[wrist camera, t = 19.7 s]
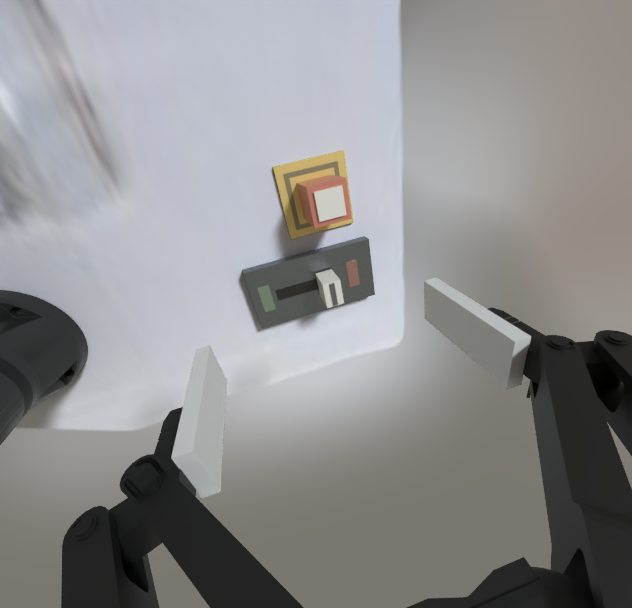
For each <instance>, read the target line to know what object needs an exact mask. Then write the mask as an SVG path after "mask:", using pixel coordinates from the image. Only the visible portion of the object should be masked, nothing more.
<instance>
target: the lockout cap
mask: <svg viewBox="0 0 632 608" xmlns="http://www.w3.org/2000/svg"><path fill="white" fill-rule="evenodd" d="M297 187H298V191H299V196H300V200H301V205H302V210H303V214H304V219H305V220H306V221H307V222H308V223H309V224H310V225H312V226H313V227H314V228H319V227H323V226H326V225H330V224H334V223H338V222H341V221H345V220H349V219H352V217H351V209H350V202H349V195H348V187H347V180H346V177H342V176H337V175H327V176H322V177H318V178H314V179H310V180H306V181H302V182H298V183H297Z"/></svg>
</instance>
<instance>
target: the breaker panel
mask: <svg viewBox="0 0 632 608" xmlns="http://www.w3.org/2000/svg"><path fill="white" fill-rule="evenodd" d="M330 269H332V270H333V271H334V273H335V274H336V275H337V276H338V278H339V279H340V282H341V288H342V293H343V299H344V303H343V304H345V303H348V302H352V301H355V300H358V299H362V298H365V297H368V296H372V295H375V292H374V283H373V274H372V265H371V256H370V247H369V239H368V238H366V237H365V236H364V237H360V238H357V239H353V240H350V241H346V242H342V243H339V244H335V245H331V246H328V247H324V248H320V249H317V250H313V251H310V252H306V253H302V254H299V255H295V256H291V257H288V258H284V259H280V260H277V261H273V262H269V263H266V264H262V265H259V266H255V267H251V268H248V269H244V270H243V276H244V279H245V282H246V284H247V287H248V290H249V293H250V296H251V298H252V301H253V304H254V307H255V310H256V312H257V315H258V318H259V321H260V324H261V326H262V328H265V327H268V326H271V325H275V324H278V323H281V322H285V321H288V320H291V319H295V318H298V317H301V316H305V315H308V314H311V313H315V312H318V311H322V310H325V309H328V308H327V307H326V305H325V303H324V302H323V300H322V298H321V296H320V293H319V288H318V283H317V279H316V273H320V272H323V271H327V270H330ZM340 305H342V304H340ZM337 306H338V305H337ZM333 307H335V306H333ZM330 308H332V307H330Z"/></svg>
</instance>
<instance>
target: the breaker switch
mask: <svg viewBox="0 0 632 608" xmlns="http://www.w3.org/2000/svg"><path fill="white" fill-rule="evenodd" d="M316 279H317V283H318V288H319V293H320V296H321V298H322V300H323V302H324V303H325V305H326V307H327V308H330V307H333V306H337V305H340V304H343V303H344V299H343V293H342V288H341V282H340V279H339V278H338V276H337V275H336V274H335V273H334V271H333V270H332V269H330V270H327V271H323V272H320V273H316Z"/></svg>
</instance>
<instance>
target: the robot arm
mask: <svg viewBox="0 0 632 608" xmlns="http://www.w3.org/2000/svg"><path fill="white" fill-rule="evenodd" d="M424 295H425V296H424V299H425V319H426V320H427V321H428V322H429V323H431V324H432V325H433V326H434V327H435V328H436V329H437V330H439V331H440V332H441V333H442V334H443V335H444V336H446V337H447V338H448V339H449V340H450V341H451V342H452V343H453V344H455V345H456V346H457V347H458V348H459V349H461V350H462V351H463V352H464V353H465V354H466V355H467V356H469V357H470V358H471V359H472V360H473V361H474V362H475V363H476V364H478V365H479V366H480V367H481V368H482V369H483V370H485V371H486V372H487V373H488V374H489V375H490V376H491V377H492V378H494V379H495V380H496V381H497V382H498V383H499V384H500V385H502V386H503V387H504V388H505V389H509V388H512V387H515V386H518V385H521V382H522V378H523V374H524V375H525V376H526V377H528V378H529V379H530V385H529V389H528V393H527V398H530V395H531V401H532V408H533V415H534V422H535V429H536V436H537V443H538V450H539V457H540V464H541V471H542V478H543V485H544V492H545V500H546V506H547V514H548V521H549V528H550V535H551V542H552V553H551V570H549V569H544V568H539V567H530V565H529V564H528V563H527V561H526V560H525V558H521V559H519V560H516V561H514V562H512V563H509V564H507V565H505V566H502V567H500V568H498V569H496V570H493V571H492V573H491V574H490V575H489V576H488V577H487V578H486V579H485V580H484V581H483V582H482V583H481V584H480V585H479V586H478V587H477V588H476V589H475V590H474V591H473V592H472V593H471V595H469V596H468V597H463V598H436V599H435V598H434V599H426V600H424V601H421V602H419V603H417V604H414V605H412V606H410V607H407V608H632V489H631V487H630V484H629V481H628V478H627V476H626V473H625V470H624V468H623V465H622V462H621V459H620V456H619V454H618V451H617V448H616V446H615V443H614V440H613V437H612V435H611V432H610V429H609V426H608V424H609V425H610V426H611V428H612V429H613V430H614V432H615V433H616V435H617V436H618V438H619V439H620V440H621V442H622V443H623V445H624V446H625V447H626V449H627V450H628V451H629V453H630V454H631V456H632V336H631V335H629V334H626V333H623V332H619V331H611V330H605V331H600V332H598V333H596V336H595V339H594V341H588V342H574V341H573V340H571V339H569V338H566V337H563V336H557V335H548V336H545V335H543V334H541V333H540V332H538V331H536V330H535V329H533V328H531V327H530V326H528V325H526V324H524V323H523V322H521V321H520V322H519V320H518V319H516V318H514V317H512V316H511V315H509V314H507V313H506V312H504V311H501V310H498V309H495V308H489V309H486V308H484V307H483V306H481V305H479V304H478V303H476V302H474V301H473V300H471V299H470V298H468V297H467V296H465V295H463V294H462V293H460V292H458V291H457V290H455V289H453V288H452V287H450V286H449V285H447V284H445V283H444V282H442V281H440V280H439V279H437V278H433V279H429V280H426V281H424ZM87 354H88V347H87V342H86V339H85V336H84V334H83V332H82V331H81V329H80V328H79V326H78V325H77V324H76V323H75V322H74V320H73V319H71V318H70V317H69V316H68V315H67V314H66V313H64V312H63V311H62V310H60V309H59V308H57V307H56V306H54V305H52V304H50V303H48V302H46V301H44V300H42V299H39V298H37V297H34V296H31V295H27V294H23V293H19V292H13V291H5V290H0V445H1V443H2V442H3V441H4V440H5V439H6V437H7V436H8V435H9V434H10V432H11V431H12V430H13V429H14V427H15V426H16V425H17V424H18V422H19V421H20V420H21V419H22V417H23V416H24V415H25V414H26V413H27V412H28V410H30V409H31V408H33V407H34V406H36V405H38V404H39V403H41V402H42V401H44V400H46V399H47V398H49V397H50V396H52V395H54V394H55V393H57V392H58V391H60V390H62V389H63V388H65V387H66V386H67V385H68V384H69V383H70V382H71V381H73V379H74V378H75V377H76V376H77V374H78V373H79V372H80V370H81V369H82V368H83V366H84V364H85V362H86V359H87ZM226 389H227V380H226V378H225V376H224V374H223V372H222V370H221V367H220V365H219V363H218V361H217V359H216V357H215V355H214V353H213V351H212V349H211V347H210V345H209V346H206V347H203V348H199V349H196V352H195V356H194V361H193V365H192V369H191V374H190V378H189V382H188V387H187V391H186V395H185V400H184V404H183V407H181V408H178V409H175V410H172V411H170V413H169V414H168V416H167V417H166V419H165V420H164V422H163V425H162V429H161V433H160V436H159V439H158V440H159V442H158V443H157V446H156V450H155V453H154V454H152V455H146V456H144V457H141V458H139V459H138V460H136V461H135V462H134V463H132V464H131V465H130V467H129V468H128V469H127V470H126V471H125V473H124V474H123V476H122V478H121V481H120V488H121V491H122V492H123V493H124V494H125V495H127V497H128V498H127V499H126V500H124V501H123V502H121V503H119V504H118V505H116V506H115V507H113V508H112V509H110V510H108V509H107V508H106V507H102V506H98V507H93V508H92V509H90V510H88V511H86V512H85V513H83V514H82V515H81V516H80V517H79V518H77V520H76V521H75V522H74V523H73V524H72V525H71V527H70V528H69V529H68V531H67V533H66V535H65V537H64V540H63V545H62V605H61V606H62V607H61V608H159V605H158V600H157V596H156V591H155V587H154V582H153V578H152V573H151V569H150V564H149V560H148V555H147V553H149V552H150V551H151V550H153V549H154V548H155V547H157V546H158V545H160V544H161V543H162V542H163V544H164V545H165V546H166V548H167V549H168V550H169V552H170V553H171V554H172V556H173V557H174V559H175V560H176V561H177V563H178V564H179V566H180V567H181V568H182V569H183V571H184V572H185V574H186V575H187V576H188V578H189V579H190V580H191V582H192V583H193V585H194V586H195V587H196V589H197V590H198V591H199V593H200V594H201V596H202V597H203V598H204V600H205V601H206V602H207V604H208V605H209V607H210V608H303V607H302V606H301V605H300V604H299V603H298V602H297V600H295V599H294V597H293V596H292V595H290V593H289V592H288V591H287V590H286V589H285V588H284V587H283V586H282V585H281V584H280V583H279V582H278V581H277V580H276V579H275V578H274V577H273V576H272V575H271V574H270V573H269V572H268V571H267V570H266V569H265V568H264V567H263V566H262V565H261V564H260V563H259V562H258V561H257V560H256V559H255V558H254V556H252V554H250V552H249V551H247V549H246V548H245V547H244V546H243V545H242V544H241V543H240V542H239V541H238V540H237V539H236V538H235V537H234V536H233V535H232V534H231V533H230V532H229V531H228V530H227V529H226V528H225V527H224V526H223V525H222V524H221V523H220V522H219V521H218V520H217V519H216V518H215V517H214V516H213V515H212V514H211V513H210V512H209V510H208V509H207V508H206V507H204V505H203V504H202V503H201V502H200V501H199V500H198V499H197V498H196V497H195V495H196V492H197V493H198V494H199V496H200V497H201V498H204V497H207V496H210V495H213V494H215V493H218V492H220V490H221V473H222V455H223V440H224V422H225V406H226ZM607 422H608V424H607Z"/></svg>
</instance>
